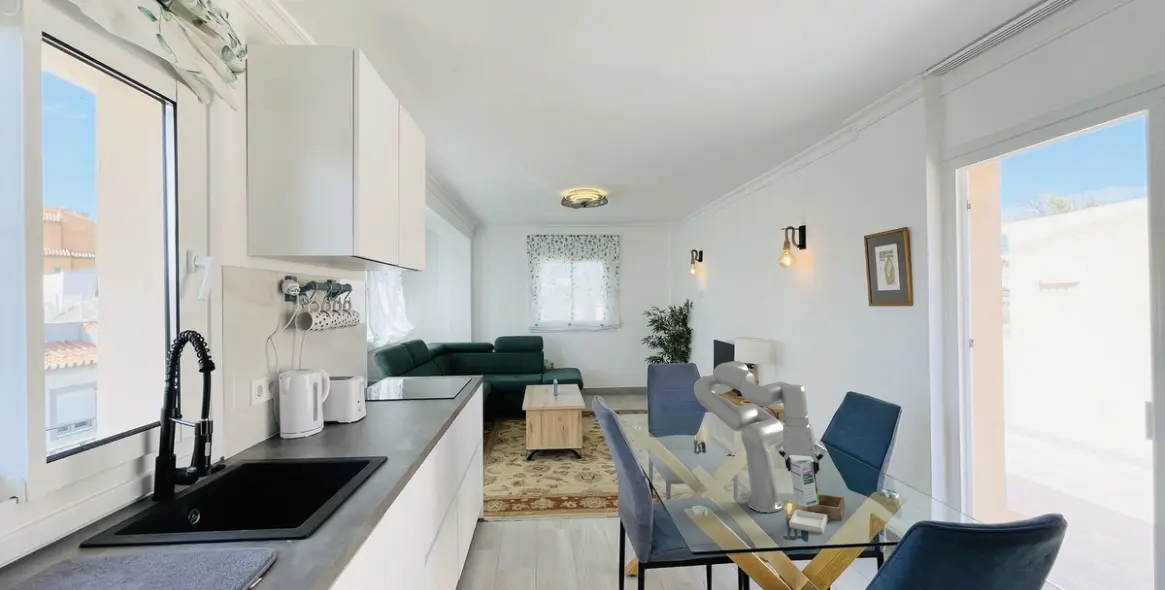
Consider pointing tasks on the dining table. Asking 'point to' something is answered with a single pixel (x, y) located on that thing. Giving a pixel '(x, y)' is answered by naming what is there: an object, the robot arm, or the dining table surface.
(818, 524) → the parts tray
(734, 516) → the dining table surface
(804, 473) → the syrup box
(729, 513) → the dining table surface
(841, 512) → the holder collar
